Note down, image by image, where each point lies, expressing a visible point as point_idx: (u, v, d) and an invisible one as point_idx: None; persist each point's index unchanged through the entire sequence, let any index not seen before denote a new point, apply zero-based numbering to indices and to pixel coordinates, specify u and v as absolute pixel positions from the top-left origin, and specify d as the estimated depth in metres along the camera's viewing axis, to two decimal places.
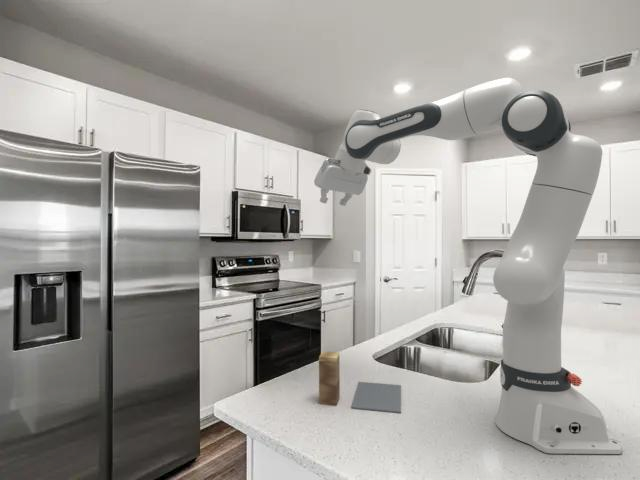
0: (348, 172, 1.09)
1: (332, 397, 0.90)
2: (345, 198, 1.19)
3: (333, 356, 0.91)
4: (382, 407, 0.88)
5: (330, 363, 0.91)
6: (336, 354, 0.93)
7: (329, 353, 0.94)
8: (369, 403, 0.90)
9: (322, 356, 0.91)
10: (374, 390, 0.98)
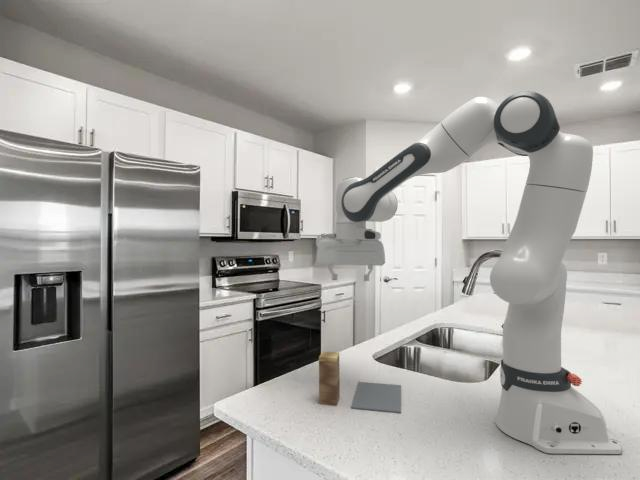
0: (344, 241, 1.03)
1: (332, 397, 0.90)
2: (368, 272, 1.05)
3: (333, 356, 0.91)
4: (382, 407, 0.88)
5: (330, 363, 0.91)
6: (336, 354, 0.93)
7: (329, 353, 0.94)
8: (369, 403, 0.90)
9: (322, 356, 0.91)
10: (374, 390, 0.98)
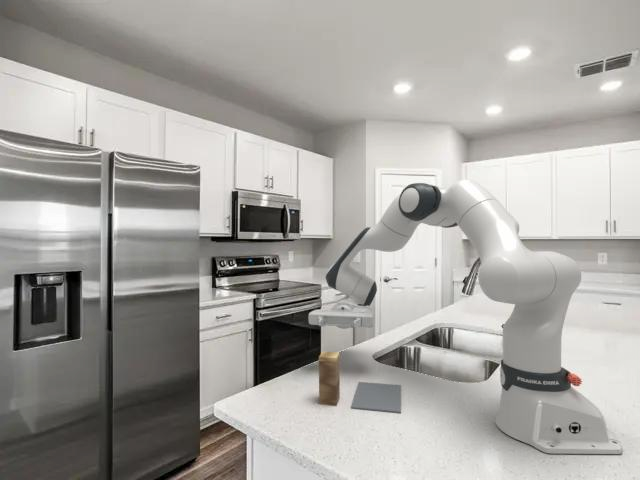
0: (338, 307, 1.16)
1: (332, 397, 0.90)
2: None
3: (333, 356, 0.91)
4: (382, 407, 0.88)
5: (330, 363, 0.91)
6: (336, 354, 0.93)
7: (329, 353, 0.94)
8: (369, 403, 0.90)
9: (322, 356, 0.91)
10: (374, 390, 0.98)
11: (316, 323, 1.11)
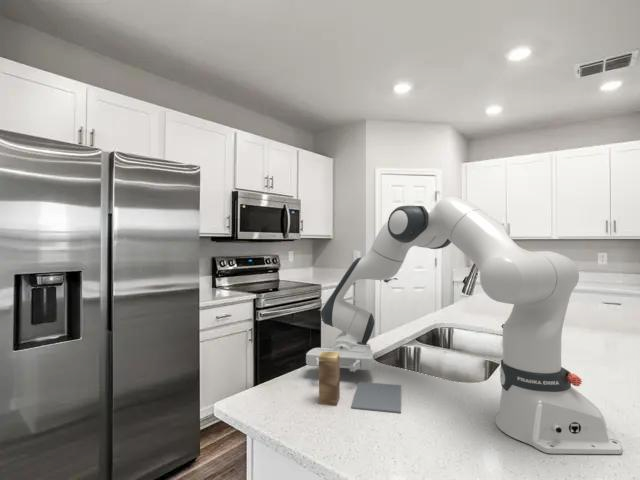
0: (337, 346, 1.12)
1: (332, 397, 0.90)
2: None
3: (333, 356, 0.91)
4: (382, 407, 0.88)
5: (330, 363, 0.90)
6: (336, 354, 0.93)
7: (329, 353, 0.94)
8: (369, 403, 0.90)
9: (322, 356, 0.91)
10: (374, 390, 0.98)
11: (314, 364, 1.07)
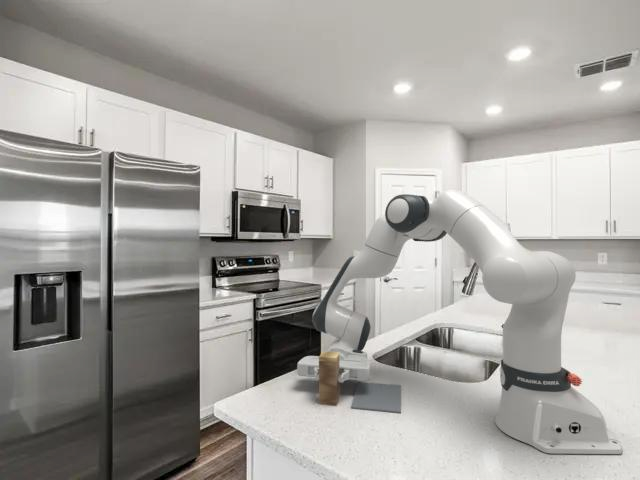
0: None
1: (332, 397, 0.90)
2: None
3: (333, 356, 0.91)
4: (382, 407, 0.88)
5: (330, 363, 0.91)
6: (336, 354, 0.93)
7: (329, 353, 0.94)
8: (369, 403, 0.90)
9: (322, 356, 0.91)
10: (374, 390, 0.98)
11: (306, 374, 0.98)
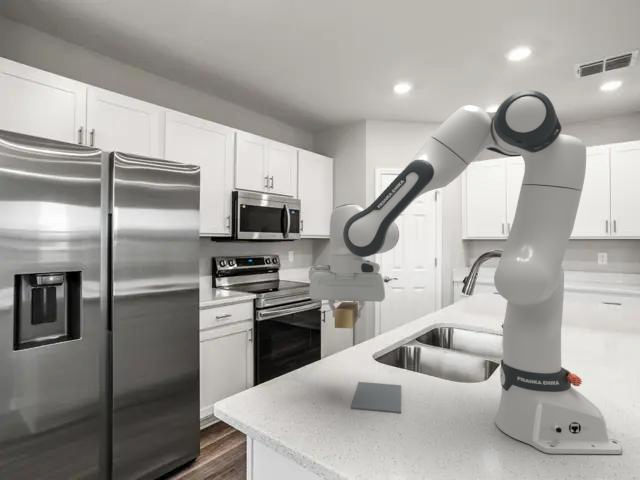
0: (338, 275, 0.94)
1: None
2: None
3: (348, 324, 0.90)
4: (382, 407, 0.88)
5: None
6: (350, 317, 0.90)
7: (342, 315, 0.90)
8: (369, 403, 0.90)
9: (337, 326, 0.90)
10: (374, 390, 0.98)
11: None
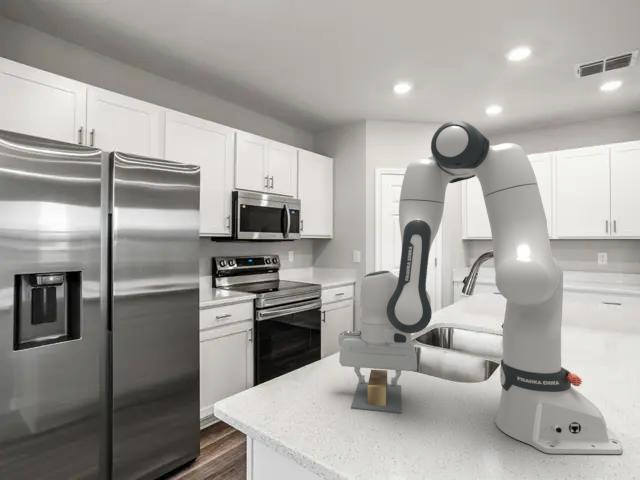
0: (370, 343, 0.93)
1: None
2: (395, 376, 0.94)
3: (382, 401, 0.89)
4: (382, 407, 0.88)
5: None
6: (383, 394, 0.89)
7: (375, 392, 0.89)
8: None
9: (370, 403, 0.90)
10: None
11: None
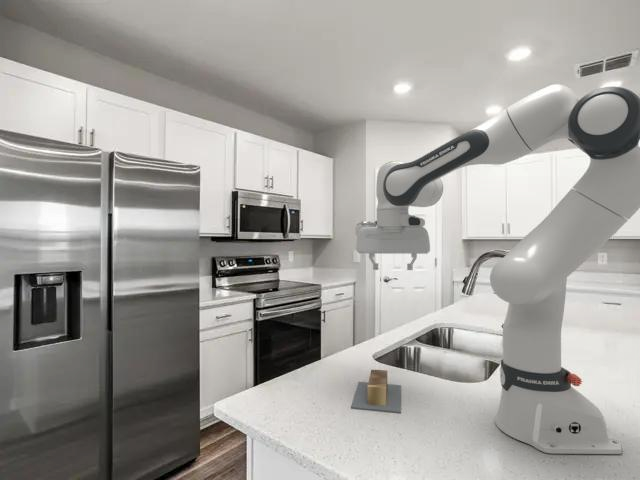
0: (386, 229, 0.99)
1: None
2: (411, 261, 1.00)
3: (382, 401, 0.89)
4: (382, 407, 0.88)
5: None
6: (383, 394, 0.89)
7: (375, 392, 0.89)
8: None
9: (370, 403, 0.90)
10: None
11: None
